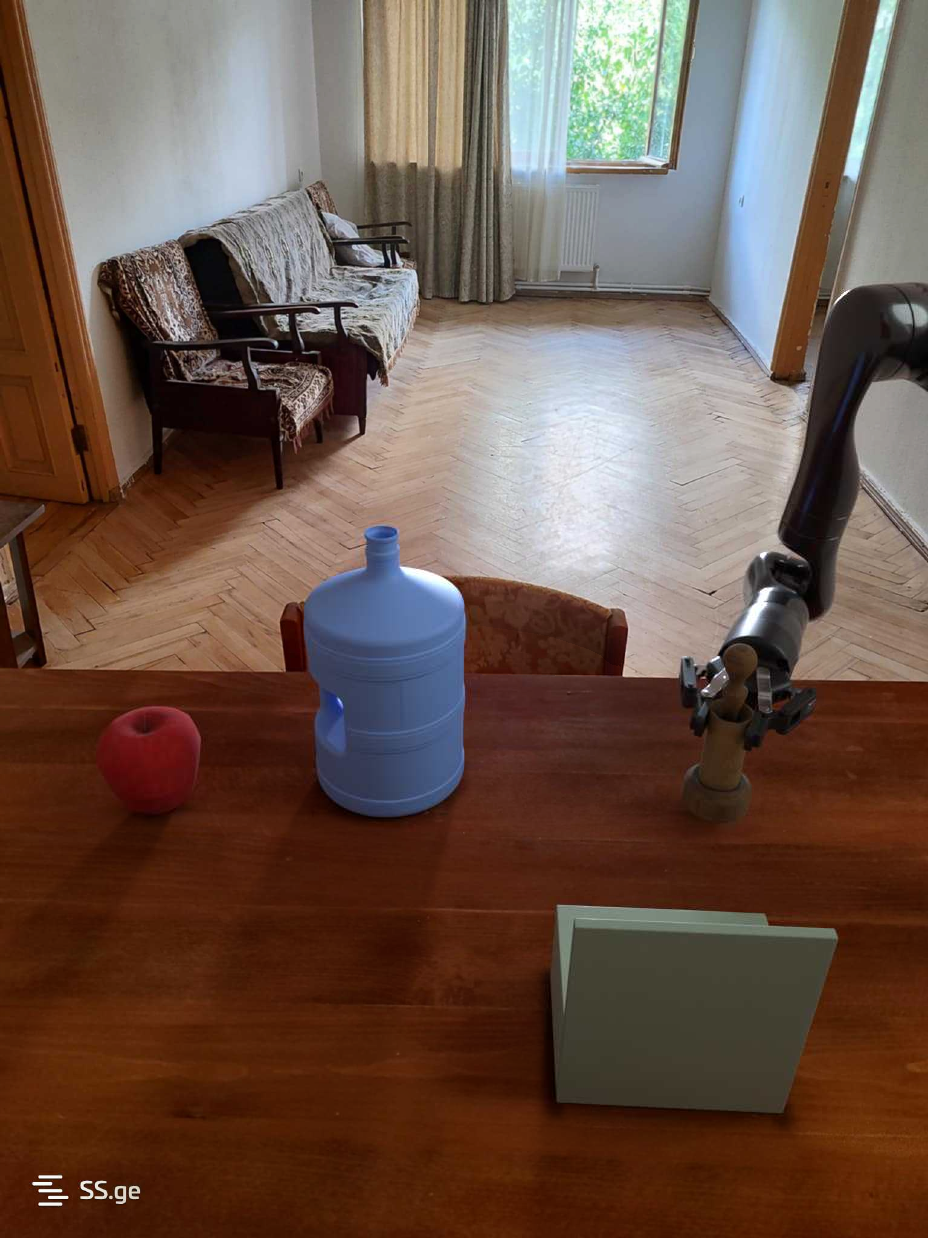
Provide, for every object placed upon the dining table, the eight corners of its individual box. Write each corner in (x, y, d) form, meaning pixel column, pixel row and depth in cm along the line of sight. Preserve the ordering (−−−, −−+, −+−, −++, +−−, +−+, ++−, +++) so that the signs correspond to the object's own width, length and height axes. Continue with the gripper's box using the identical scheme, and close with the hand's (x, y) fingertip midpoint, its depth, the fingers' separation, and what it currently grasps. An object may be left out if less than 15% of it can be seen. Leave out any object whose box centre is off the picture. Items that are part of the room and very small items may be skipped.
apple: (192, 760, 96) (177, 676, 91) (223, 810, 89) (209, 723, 84) (98, 792, 91) (76, 706, 86) (123, 848, 84) (101, 759, 79)
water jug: (475, 736, 100) (479, 506, 86) (448, 831, 87) (449, 577, 73) (342, 721, 102) (326, 494, 89) (297, 811, 89) (269, 561, 75)
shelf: (747, 984, 72) (789, 816, 63) (782, 1114, 62) (838, 939, 54) (550, 975, 72) (564, 808, 63) (556, 1103, 63) (574, 927, 54)
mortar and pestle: (745, 830, 84) (777, 673, 76) (676, 814, 86) (700, 659, 78) (751, 787, 90) (782, 635, 81) (686, 773, 92) (709, 623, 83)
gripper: (699, 603, 95) (652, 682, 82) (838, 634, 89) (812, 724, 76) (690, 662, 99) (644, 746, 86) (823, 696, 93) (795, 791, 80)
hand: (723, 735), depth 81 cm, fingers closed on mortar and pestle, 4 cm apart
